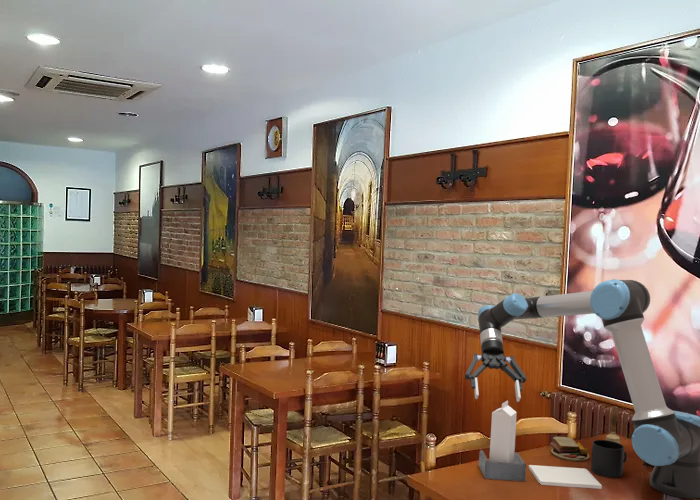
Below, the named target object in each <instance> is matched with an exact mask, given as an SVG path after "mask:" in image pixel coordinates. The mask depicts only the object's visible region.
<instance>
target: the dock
mask: <svg viewBox="0 0 700 500" xmlns="http://www.w3.org/2000/svg"><path fill="white" fill-rule="evenodd" d="M478 467H479V469H480V471H481V473H482V476H483V478H484V479H487V480H501V481H512V482H513V481H516V482H526V475H527V472H526V471H527V463H526V462H525V461H524V459H523V458H522V457H521V455H520V454H519V452H515V451H514V463H508V462H493V461H489V459H488V458H487V455H486V454H485V451H484V450H482V449H481V450H480V449H479V455H478Z"/></svg>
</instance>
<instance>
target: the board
mask: <svg viewBox="0 0 700 500" xmlns="http://www.w3.org/2000/svg"><path fill="white" fill-rule="evenodd" d="M528 469H529V471H530V472H531V474H532V475H533V477H534V478H535V479H536V481H537V482H538V483H540V484H541V485H540V484H539V485H540V486H554V487H555V486H556V487H565V488H567V487H569V488H581V489H583V488H584V489H599V490H602V489H603V485H602V484H601V483H600V482H599V481H598V479H597V478H596V477H594V476H593V474H592V473H591V472H590V471H589V470H588V469H587V468H583V467H582V468H579V467H566V466H551V465H550V466H548V465H535V464H534V465H533V464H529V465H528Z"/></svg>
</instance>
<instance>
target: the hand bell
mask: <svg viewBox="0 0 700 500" xmlns="http://www.w3.org/2000/svg"><path fill="white" fill-rule="evenodd" d="M609 419H610V420H609V421H610V433H609V434H607V435H605V440H608V441H613V442H617V443H619V444H621V438H620V436H619V435H617V422H618V419H619V413H618V409H617V406H614V405H613V406H612V407H611V409H610V413H609Z"/></svg>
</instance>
